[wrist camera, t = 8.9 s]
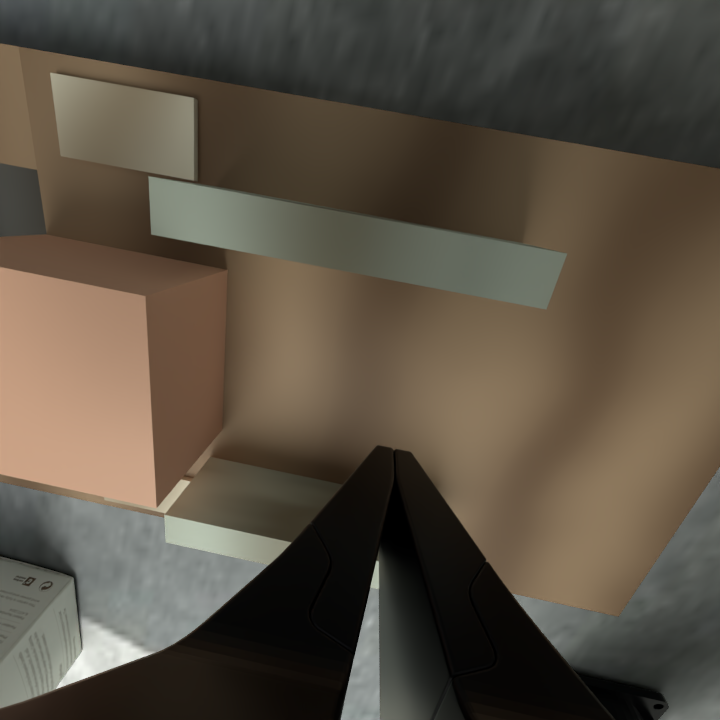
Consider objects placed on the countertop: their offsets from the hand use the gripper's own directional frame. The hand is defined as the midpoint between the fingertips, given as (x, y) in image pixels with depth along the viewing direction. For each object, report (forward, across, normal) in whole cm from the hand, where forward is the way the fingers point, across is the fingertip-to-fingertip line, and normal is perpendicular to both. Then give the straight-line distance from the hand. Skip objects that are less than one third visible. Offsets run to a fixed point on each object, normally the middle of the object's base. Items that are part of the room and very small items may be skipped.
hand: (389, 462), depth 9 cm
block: (+4, +9, 0) cm, 10 cm away
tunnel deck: (+6, +3, 0) cm, 7 cm away
